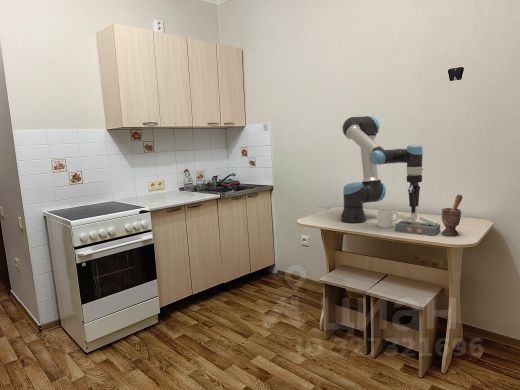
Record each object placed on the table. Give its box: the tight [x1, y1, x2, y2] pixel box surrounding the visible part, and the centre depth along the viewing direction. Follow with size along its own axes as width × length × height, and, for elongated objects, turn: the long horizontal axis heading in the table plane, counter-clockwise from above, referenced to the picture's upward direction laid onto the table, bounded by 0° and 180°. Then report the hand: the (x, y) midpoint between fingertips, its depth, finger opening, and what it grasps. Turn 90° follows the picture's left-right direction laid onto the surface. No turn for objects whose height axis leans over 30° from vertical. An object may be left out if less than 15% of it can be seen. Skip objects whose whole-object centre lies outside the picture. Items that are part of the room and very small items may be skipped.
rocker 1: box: [398, 214, 417, 223], centre depth 198 cm, size 8×4×2 cm, turn 50°
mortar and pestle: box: [441, 194, 463, 237], centre depth 186 cm, size 12×9×20 cm
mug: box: [377, 207, 400, 229], centre depth 208 cm, size 8×12×10 cm, turn 49°
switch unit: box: [394, 220, 441, 237], centre depth 195 cm, size 20×10×5 cm, turn 50°
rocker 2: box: [419, 215, 439, 226], centre depth 191 cm, size 8×4×2 cm, turn 51°
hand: (413, 218), depth 195 cm, fingers closed
